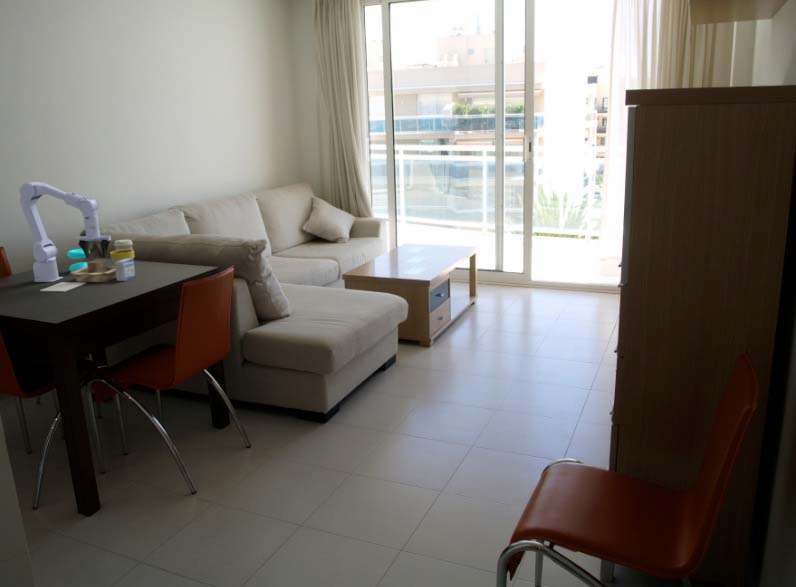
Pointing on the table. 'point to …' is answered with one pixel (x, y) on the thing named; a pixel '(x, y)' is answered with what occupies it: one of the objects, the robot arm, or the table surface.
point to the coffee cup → (123, 244)
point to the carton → (94, 275)
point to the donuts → (77, 255)
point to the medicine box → (125, 269)
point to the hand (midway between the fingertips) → (96, 256)
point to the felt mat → (63, 286)
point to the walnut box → (97, 266)
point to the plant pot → (122, 254)
